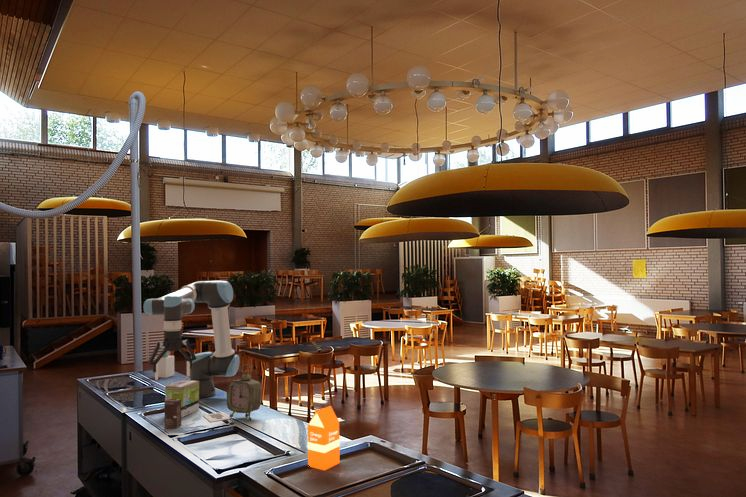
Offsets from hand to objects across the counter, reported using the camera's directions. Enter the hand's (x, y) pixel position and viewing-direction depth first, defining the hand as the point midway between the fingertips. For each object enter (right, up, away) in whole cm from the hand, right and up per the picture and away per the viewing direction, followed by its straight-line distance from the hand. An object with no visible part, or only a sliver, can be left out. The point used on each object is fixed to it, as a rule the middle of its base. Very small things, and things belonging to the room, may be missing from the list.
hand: (172, 377), depth 246 cm
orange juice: (+72, -20, -49) cm, 89 cm away
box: (0, -22, 0) cm, 22 cm away
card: (+16, -22, +14) cm, 31 cm away
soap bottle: (-47, -26, +113) cm, 125 cm away
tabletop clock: (+29, -22, +12) cm, 38 cm away
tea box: (-3, -23, +22) cm, 32 cm away
